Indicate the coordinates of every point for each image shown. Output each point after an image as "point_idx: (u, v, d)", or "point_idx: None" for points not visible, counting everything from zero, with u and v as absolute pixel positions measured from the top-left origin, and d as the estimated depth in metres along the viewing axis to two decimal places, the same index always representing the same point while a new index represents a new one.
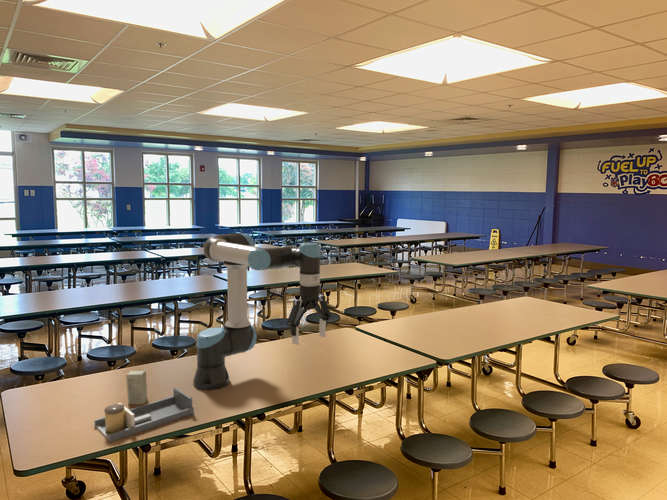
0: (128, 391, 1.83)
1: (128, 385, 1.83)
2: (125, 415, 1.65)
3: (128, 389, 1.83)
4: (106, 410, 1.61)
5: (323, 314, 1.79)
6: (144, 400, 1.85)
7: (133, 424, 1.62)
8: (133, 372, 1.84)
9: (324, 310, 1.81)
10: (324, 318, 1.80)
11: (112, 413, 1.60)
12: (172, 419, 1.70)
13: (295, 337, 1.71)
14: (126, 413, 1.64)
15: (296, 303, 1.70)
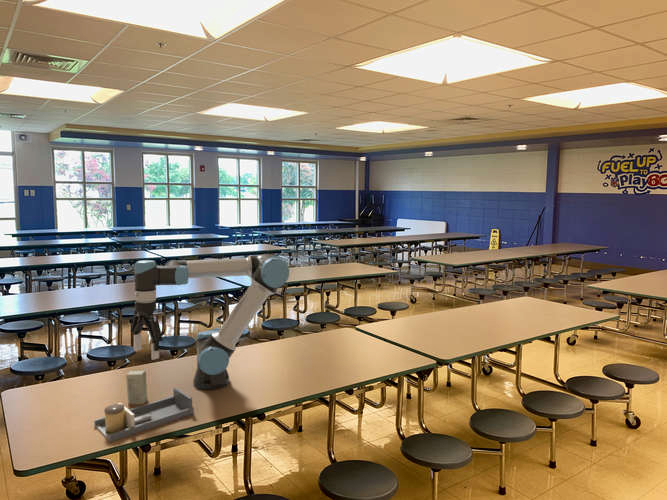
0: (128, 391, 1.83)
1: (128, 385, 1.83)
2: (125, 415, 1.65)
3: (128, 389, 1.83)
4: (106, 410, 1.61)
5: (151, 335, 1.77)
6: (144, 400, 1.85)
7: (133, 424, 1.62)
8: (133, 372, 1.84)
9: None
10: None
11: (112, 413, 1.60)
12: (172, 419, 1.70)
13: None
14: (126, 413, 1.64)
15: None
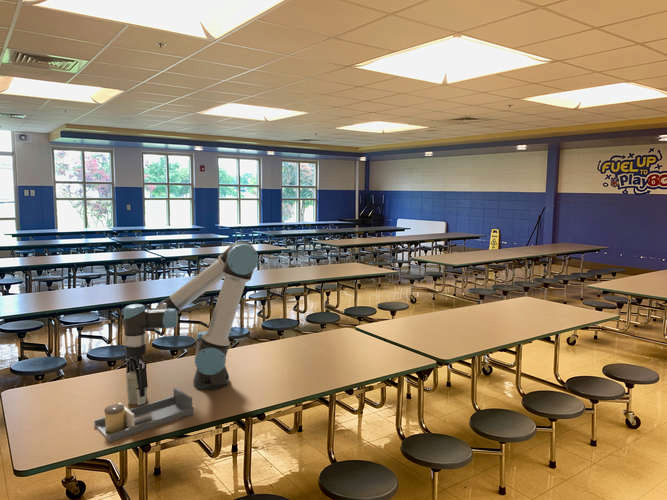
0: (128, 391, 1.83)
1: (128, 385, 1.83)
2: (125, 415, 1.65)
3: (128, 389, 1.83)
4: (106, 410, 1.61)
5: (137, 381, 1.81)
6: None
7: (133, 424, 1.62)
8: (133, 372, 1.84)
9: None
10: (138, 385, 1.81)
11: (112, 413, 1.60)
12: (172, 419, 1.70)
13: None
14: (126, 413, 1.64)
15: None
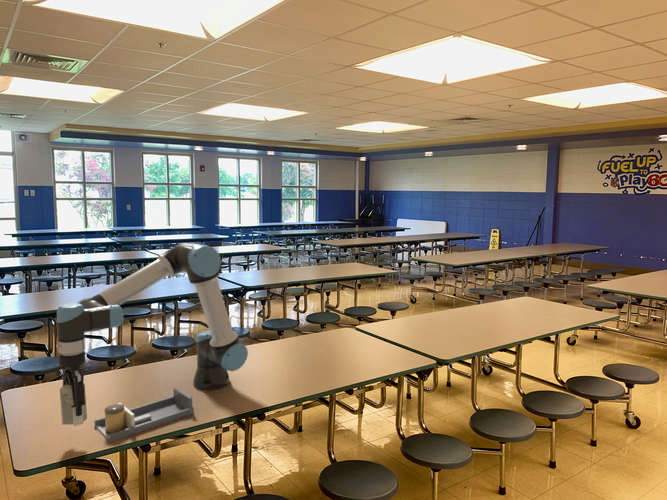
0: (62, 409, 1.51)
1: (62, 401, 1.51)
2: (125, 415, 1.65)
3: (62, 406, 1.51)
4: (106, 410, 1.61)
5: (73, 397, 1.49)
6: None
7: (133, 424, 1.62)
8: (69, 386, 1.52)
9: None
10: (74, 402, 1.49)
11: (112, 413, 1.60)
12: (172, 419, 1.70)
13: None
14: (126, 413, 1.64)
15: None
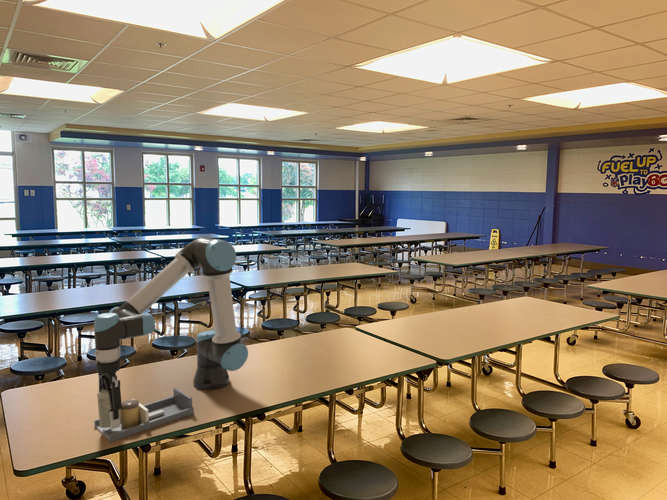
0: (100, 413, 1.60)
1: (99, 406, 1.59)
2: (139, 411, 1.68)
3: (100, 410, 1.59)
4: (122, 405, 1.64)
5: (110, 401, 1.58)
6: None
7: (147, 419, 1.65)
8: (105, 391, 1.61)
9: None
10: (111, 407, 1.58)
11: (128, 408, 1.64)
12: (172, 419, 1.70)
13: None
14: (140, 409, 1.67)
15: None
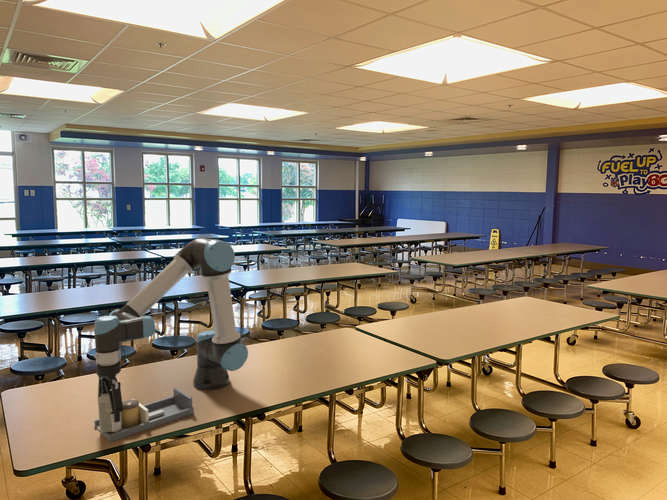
0: (100, 417, 1.60)
1: (100, 410, 1.60)
2: (139, 411, 1.68)
3: (100, 415, 1.60)
4: None
5: (111, 404, 1.57)
6: None
7: (147, 419, 1.65)
8: (106, 395, 1.61)
9: None
10: None
11: (128, 408, 1.64)
12: (172, 419, 1.70)
13: None
14: (140, 409, 1.67)
15: None
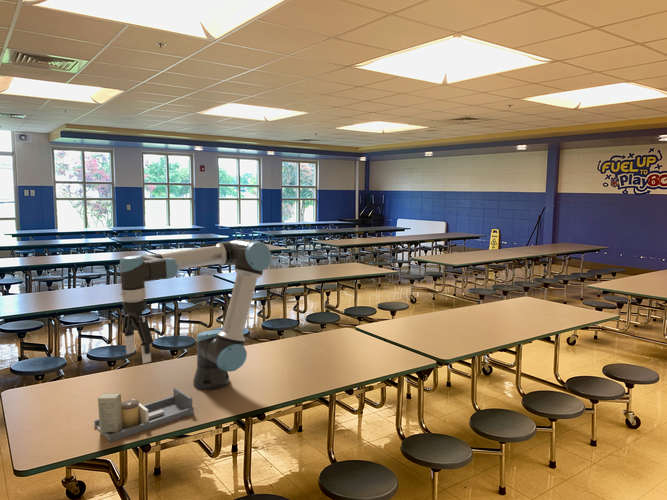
0: (100, 417, 1.60)
1: (100, 410, 1.60)
2: (139, 411, 1.68)
3: (100, 415, 1.60)
4: (122, 405, 1.64)
5: (140, 337, 1.63)
6: (118, 427, 1.61)
7: (147, 419, 1.65)
8: (106, 395, 1.61)
9: None
10: None
11: (128, 408, 1.64)
12: (172, 419, 1.70)
13: None
14: (140, 409, 1.67)
15: None
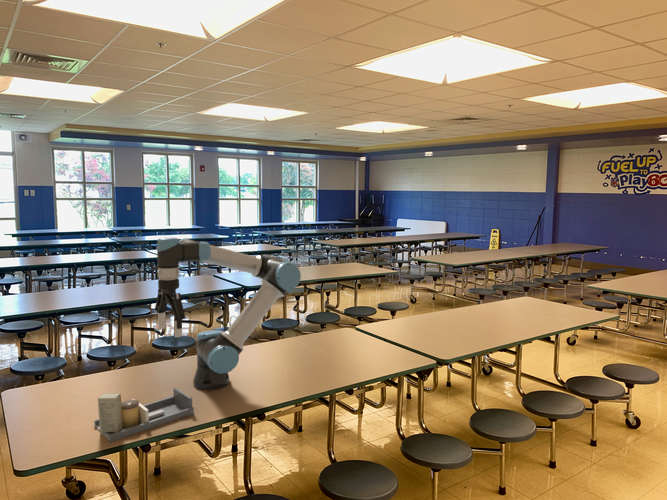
0: (100, 417, 1.60)
1: (100, 410, 1.60)
2: (139, 411, 1.68)
3: (100, 415, 1.60)
4: (122, 405, 1.64)
5: (173, 313, 1.75)
6: (118, 427, 1.61)
7: (147, 419, 1.65)
8: (106, 395, 1.61)
9: None
10: (175, 318, 1.75)
11: (128, 408, 1.64)
12: (172, 419, 1.70)
13: None
14: (140, 409, 1.67)
15: None
